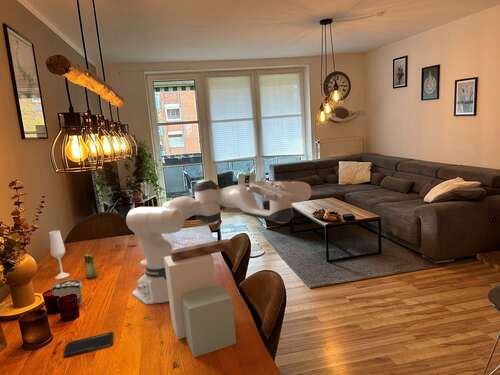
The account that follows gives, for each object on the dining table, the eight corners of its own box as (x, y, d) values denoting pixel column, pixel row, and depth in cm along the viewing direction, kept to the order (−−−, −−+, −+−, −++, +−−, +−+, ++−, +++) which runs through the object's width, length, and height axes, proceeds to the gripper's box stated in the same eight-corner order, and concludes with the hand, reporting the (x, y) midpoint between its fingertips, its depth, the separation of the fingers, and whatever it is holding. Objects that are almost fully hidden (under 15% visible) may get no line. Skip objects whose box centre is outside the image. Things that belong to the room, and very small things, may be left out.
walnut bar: (228, 246, 128) (227, 238, 127) (231, 249, 124) (231, 241, 124) (171, 258, 120) (170, 250, 119) (173, 261, 116) (172, 253, 116)
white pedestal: (211, 313, 132) (205, 248, 128) (220, 326, 123) (213, 256, 118) (172, 325, 126) (163, 257, 122) (177, 339, 117) (168, 266, 113)
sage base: (226, 328, 121) (221, 285, 119) (236, 343, 112) (232, 297, 110) (186, 340, 116) (181, 295, 114) (193, 357, 107) (188, 309, 104)
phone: (66, 342, 119) (113, 331, 124) (67, 345, 119) (114, 334, 124) (62, 356, 112) (112, 343, 116) (63, 359, 112) (113, 346, 117)
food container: (90, 299, 152) (86, 277, 150) (83, 306, 146) (80, 284, 144) (61, 301, 152) (57, 280, 150) (54, 309, 146) (50, 286, 144)
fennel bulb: (85, 277, 177) (82, 254, 175) (96, 274, 180) (92, 252, 178) (88, 280, 173) (84, 257, 171) (98, 277, 176) (95, 254, 174)
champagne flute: (64, 272, 186) (57, 229, 182) (72, 274, 182) (64, 230, 178) (52, 277, 180) (44, 233, 176) (59, 279, 177) (51, 234, 173)
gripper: (298, 207, 133) (272, 209, 124) (263, 193, 148) (237, 194, 139) (301, 191, 132) (275, 192, 123) (265, 178, 147) (240, 178, 138)
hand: (255, 193), depth 131 cm, fingers open, 8 cm apart
